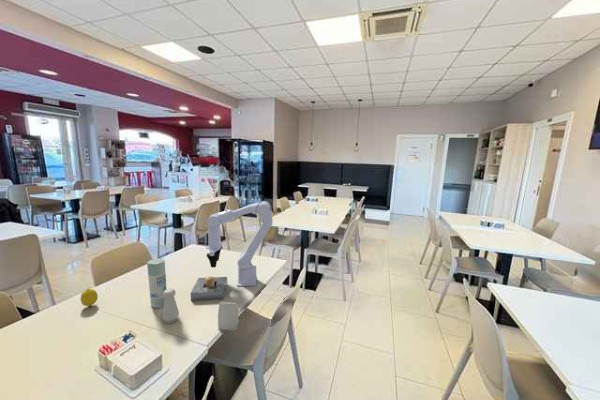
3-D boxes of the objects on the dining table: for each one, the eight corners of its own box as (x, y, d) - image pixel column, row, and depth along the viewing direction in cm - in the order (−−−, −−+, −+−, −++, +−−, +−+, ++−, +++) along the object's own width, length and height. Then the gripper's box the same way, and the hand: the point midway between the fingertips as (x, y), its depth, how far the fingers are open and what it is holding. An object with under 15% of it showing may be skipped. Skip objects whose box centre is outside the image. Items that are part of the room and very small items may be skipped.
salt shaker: (182, 317, 102) (180, 288, 100) (171, 326, 97) (169, 295, 94) (171, 314, 104) (169, 285, 102) (159, 322, 98) (157, 292, 96)
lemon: (101, 304, 109) (99, 287, 108) (86, 311, 104) (83, 293, 103) (94, 301, 111) (92, 284, 110) (78, 307, 106) (76, 290, 105)
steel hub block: (227, 284, 129) (227, 276, 128) (223, 299, 115) (222, 291, 115) (198, 285, 127) (198, 277, 126) (191, 301, 113) (190, 292, 113)
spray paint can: (160, 309, 107) (156, 265, 103) (147, 307, 108) (143, 263, 105) (170, 300, 113) (168, 259, 110) (158, 298, 114) (155, 257, 111)
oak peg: (215, 289, 123) (215, 276, 122) (213, 294, 120) (213, 280, 118) (207, 290, 123) (206, 276, 122) (205, 294, 119) (204, 280, 118)
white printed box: (235, 330, 96) (235, 306, 94) (218, 329, 96) (217, 305, 94) (238, 324, 99) (238, 300, 98) (221, 323, 100) (221, 299, 98)
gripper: (209, 233, 132) (209, 258, 135) (202, 243, 118) (203, 270, 121) (223, 233, 133) (223, 257, 136) (218, 243, 119) (218, 270, 122)
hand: (215, 263), depth 128 cm, fingers open, 7 cm apart
